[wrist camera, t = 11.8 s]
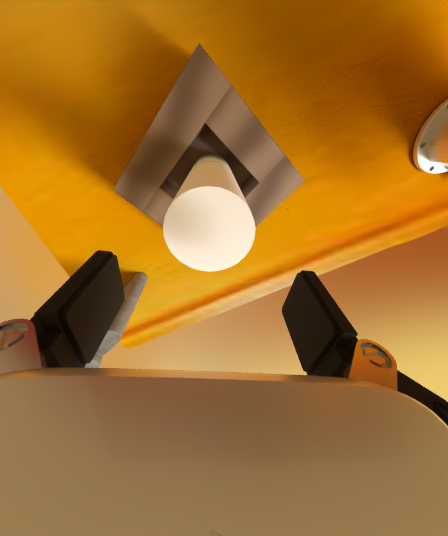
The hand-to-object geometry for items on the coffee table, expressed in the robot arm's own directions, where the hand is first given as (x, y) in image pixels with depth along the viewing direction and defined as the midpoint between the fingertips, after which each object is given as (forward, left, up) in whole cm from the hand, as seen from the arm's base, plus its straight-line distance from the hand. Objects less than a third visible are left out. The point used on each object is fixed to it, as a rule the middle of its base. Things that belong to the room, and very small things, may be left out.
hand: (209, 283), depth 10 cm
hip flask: (-2, +36, -32) cm, 49 cm away
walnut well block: (0, 0, -32) cm, 32 cm away
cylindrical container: (0, 0, -31) cm, 31 cm away
